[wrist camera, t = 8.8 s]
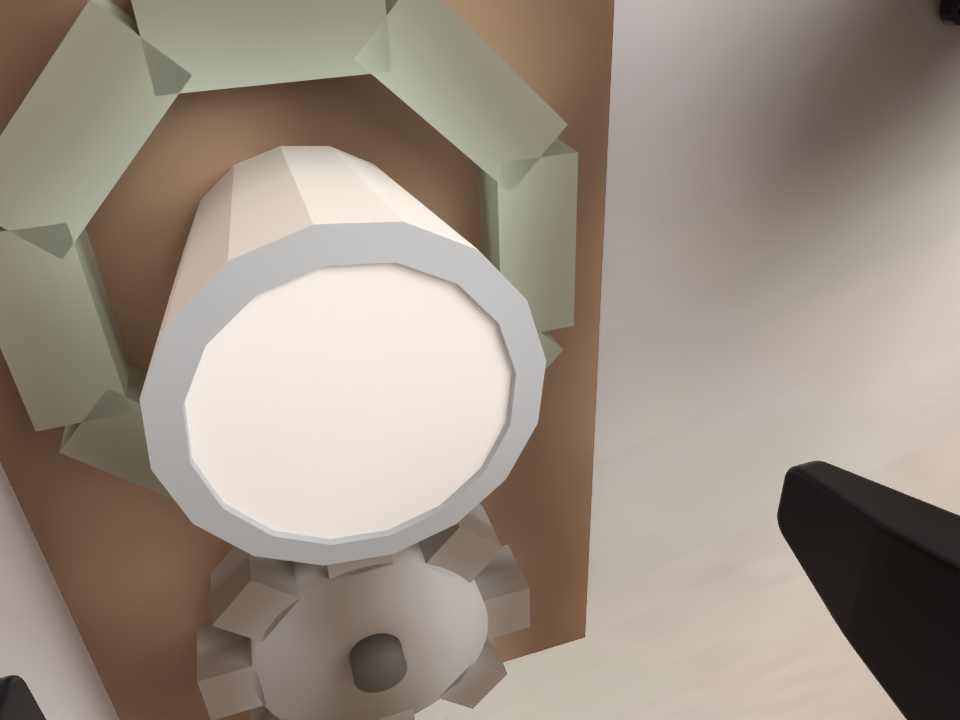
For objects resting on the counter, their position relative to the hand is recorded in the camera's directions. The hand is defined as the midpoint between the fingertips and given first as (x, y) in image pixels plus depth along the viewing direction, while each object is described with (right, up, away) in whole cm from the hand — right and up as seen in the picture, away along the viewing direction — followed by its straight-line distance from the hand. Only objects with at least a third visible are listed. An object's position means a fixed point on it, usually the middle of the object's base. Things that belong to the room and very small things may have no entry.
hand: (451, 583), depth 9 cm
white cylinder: (-4, +5, +10) cm, 12 cm away
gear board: (-4, +1, +13) cm, 14 cm away
